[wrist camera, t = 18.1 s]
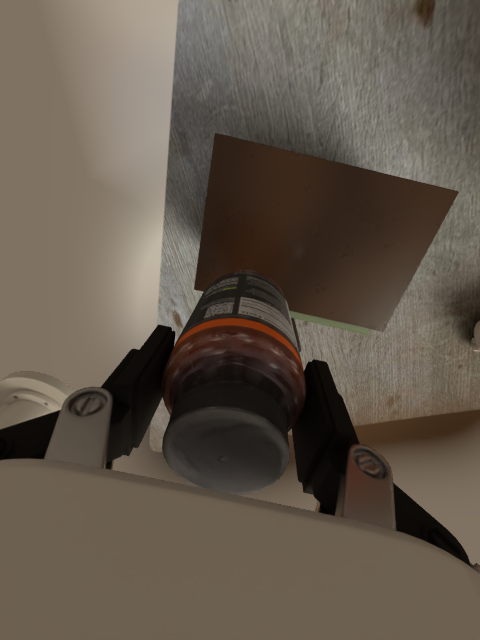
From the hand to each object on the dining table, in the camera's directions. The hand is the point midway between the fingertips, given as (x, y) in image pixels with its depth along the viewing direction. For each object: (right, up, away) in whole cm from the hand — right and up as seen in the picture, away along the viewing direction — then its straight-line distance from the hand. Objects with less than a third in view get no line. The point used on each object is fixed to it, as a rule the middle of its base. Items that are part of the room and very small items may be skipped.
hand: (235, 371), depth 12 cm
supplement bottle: (+1, +3, +6) cm, 7 cm away
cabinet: (+7, +15, +22) cm, 27 cm away
